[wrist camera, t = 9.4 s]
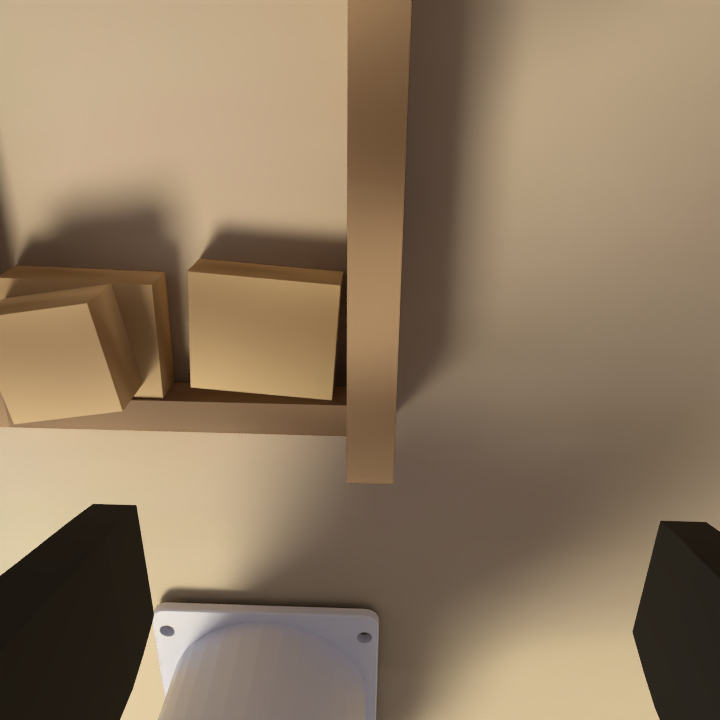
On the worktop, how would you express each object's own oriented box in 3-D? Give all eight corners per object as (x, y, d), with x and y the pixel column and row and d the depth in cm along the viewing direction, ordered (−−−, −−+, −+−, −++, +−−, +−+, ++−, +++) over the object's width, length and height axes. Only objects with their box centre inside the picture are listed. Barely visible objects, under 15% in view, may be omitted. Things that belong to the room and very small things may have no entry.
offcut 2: (142, 384, 19) (122, 411, 17) (42, 396, 19) (13, 424, 17) (111, 283, 17) (87, 303, 16) (4, 298, 18) (-30, 319, 16)
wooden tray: (391, 416, 20) (393, 484, 17) (-3, 406, 20) (-74, 471, 17) (417, -321, 13) (429, -443, 10) (-183, -319, 13) (-359, -436, 10)
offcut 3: (335, 375, 20) (332, 400, 19) (204, 363, 20) (190, 387, 19) (344, 268, 19) (340, 285, 17) (203, 254, 19) (187, 271, 17)
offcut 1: (179, 373, 20) (163, 398, 19) (44, 367, 20) (18, 390, 19) (169, 267, 19) (151, 285, 17) (25, 260, 19) (-6, 277, 18)
